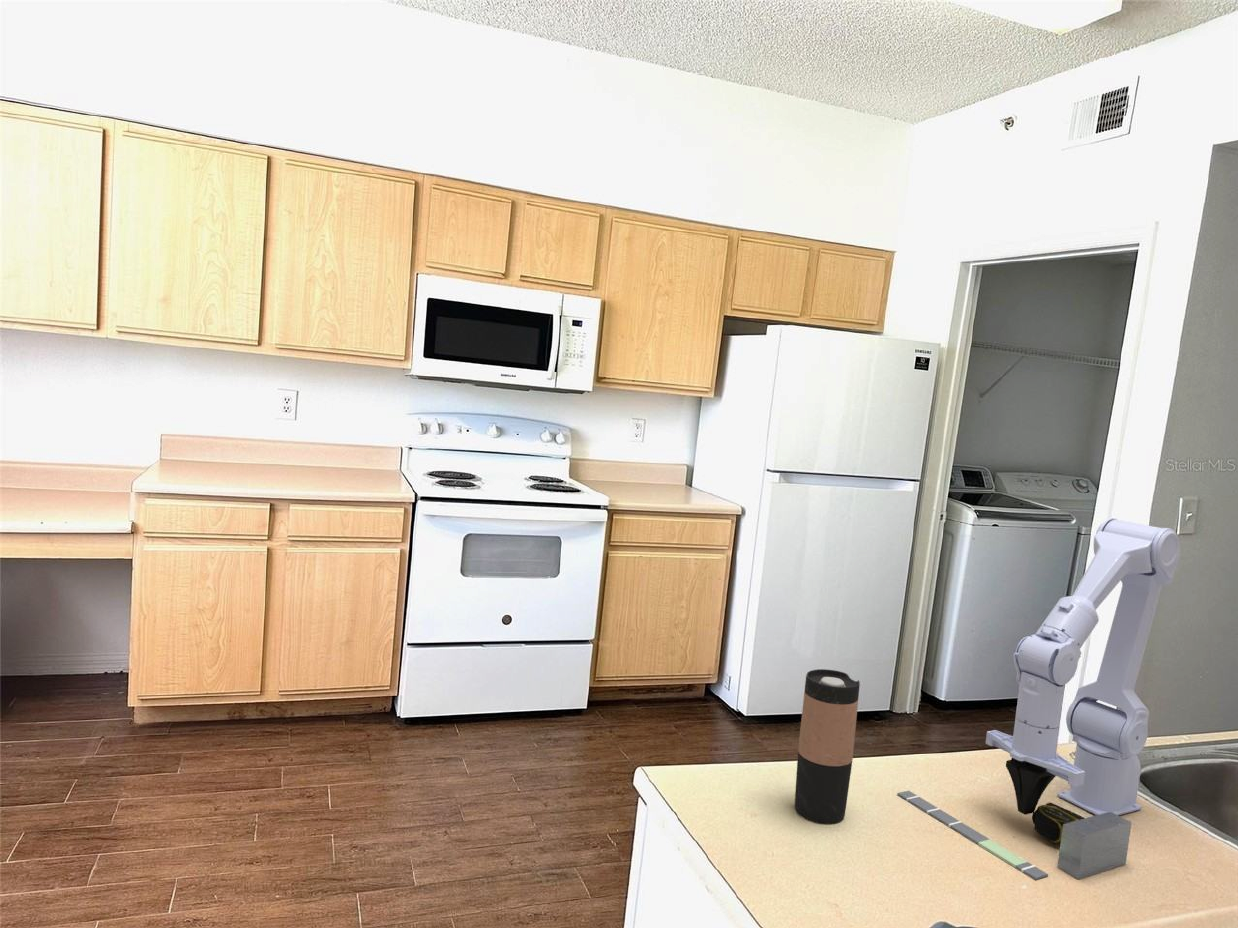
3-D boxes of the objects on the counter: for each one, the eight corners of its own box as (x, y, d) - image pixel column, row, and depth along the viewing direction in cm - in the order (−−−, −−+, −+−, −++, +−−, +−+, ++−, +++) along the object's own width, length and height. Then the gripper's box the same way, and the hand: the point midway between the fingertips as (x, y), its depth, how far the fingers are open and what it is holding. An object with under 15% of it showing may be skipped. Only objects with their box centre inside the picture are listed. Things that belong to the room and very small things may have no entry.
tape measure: (1094, 844, 122) (1098, 819, 122) (1068, 856, 119) (1071, 830, 118) (1048, 822, 128) (1051, 797, 128) (1021, 832, 124) (1024, 807, 124)
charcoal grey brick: (1100, 850, 121) (1106, 809, 120) (1125, 864, 118) (1131, 821, 117) (1053, 864, 116) (1059, 822, 116) (1078, 879, 113) (1084, 835, 112)
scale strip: (908, 792, 134) (909, 789, 134) (1048, 876, 113) (1048, 873, 113) (897, 794, 133) (897, 792, 133) (1035, 880, 112) (1035, 877, 112)
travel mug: (787, 816, 124) (801, 680, 122) (797, 794, 131) (810, 665, 129) (842, 830, 121) (857, 691, 119) (849, 806, 128) (863, 675, 126)
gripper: (976, 705, 129) (965, 792, 130) (1065, 745, 116) (1052, 841, 117) (1008, 700, 132) (998, 785, 133) (1099, 738, 119) (1086, 832, 121)
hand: (1025, 811), depth 126 cm, fingers closed
